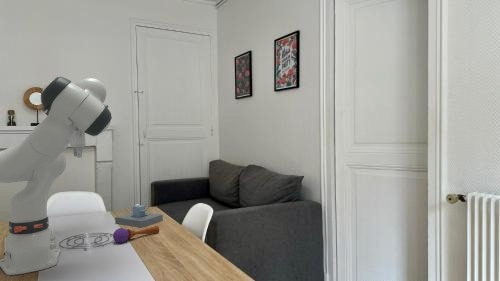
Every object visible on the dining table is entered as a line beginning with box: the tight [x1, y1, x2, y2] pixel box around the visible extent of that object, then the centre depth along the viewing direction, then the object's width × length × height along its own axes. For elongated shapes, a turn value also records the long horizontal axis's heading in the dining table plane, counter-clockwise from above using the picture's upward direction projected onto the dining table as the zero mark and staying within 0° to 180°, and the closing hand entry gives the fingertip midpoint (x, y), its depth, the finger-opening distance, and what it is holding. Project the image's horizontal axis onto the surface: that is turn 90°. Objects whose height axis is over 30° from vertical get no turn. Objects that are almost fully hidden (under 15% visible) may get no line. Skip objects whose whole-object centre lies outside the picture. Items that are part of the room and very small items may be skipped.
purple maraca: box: [112, 225, 160, 244], centre depth 146 cm, size 6×6×20 cm
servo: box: [131, 203, 147, 218], centre depth 172 cm, size 7×4×9 cm, turn 60°
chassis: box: [114, 211, 164, 228], centre depth 172 cm, size 18×14×3 cm
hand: (77, 156), depth 155 cm, fingers open, 8 cm apart
